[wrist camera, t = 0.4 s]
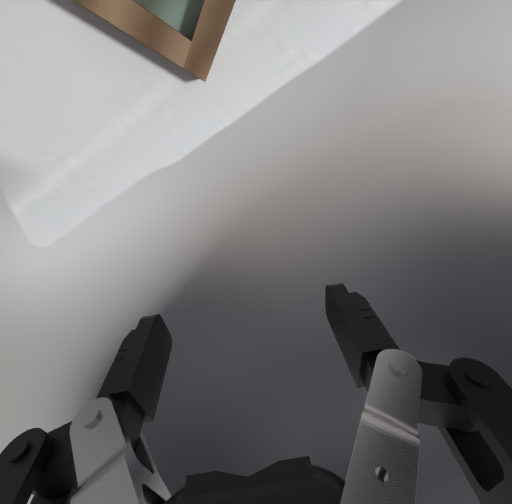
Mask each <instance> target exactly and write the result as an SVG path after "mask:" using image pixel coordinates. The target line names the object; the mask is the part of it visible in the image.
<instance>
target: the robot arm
mask: <svg viewBox="0 0 512 504" xmlns="http://www.w3.org/2000/svg"><path fill="white" fill-rule="evenodd" d="M325 293H326V294H325V298H326V299H325V300H326V302H325V303H326V304H325V305H326V306H325V308H326V315H327V318H328V321H329V323H330V326H331V328H332V331H333V333H334V335H335V337H336V340H337V342H338V344H339V346H340V349H341V351H342V353H343V356H344V358H345V360H346V363H347V365H348V367H349V370H350V372H351V374H352V377H353V379H354V381H355V384H356V386H357V388H359V387H366V389H367V391H368V396H367V400H366V404H365V407H364V410H363V413H362V417H361V421H360V425H359V429H358V433H357V437H356V442H355V445H354V450H353V454H352V457H351V462H350V466H349V470H348V474H347V478H346V481H345V480H344V479H342V478H341V477H340V476H338V475H337V474H335V473H334V472H332V471H330V470H328V469H326V468H323V467H320V466H317V465H312V464H311V462H310V457H309V456H306V457H299V458H293V459H287V460H281V461H278V462H276V463H274V464H272V465H270V466H268V467H266V468H264V469H262V470H261V471H259V472H257V473H255V474H253V475H251V476H248V477H245V476H239V475H234V474H229V473H224V472H219V471H214V472H208V473H202V474H195V475H189V476H186V485H185V487H183V488H182V489H180V490H179V491H177V492H176V493H175V494H173V495H172V496H171V495H170V493H169V491H168V489H167V488H166V486H165V484H164V483H163V481H162V480H161V478H160V476H159V474H158V472H157V469H156V467H155V464H154V462H153V459H152V457H151V455H150V452H149V450H148V448H147V445H146V442H145V440H144V437H143V435H142V433H141V428H142V424H143V423H144V422H149V421H154V416H155V413H156V409H157V404H158V400H159V397H160V392H161V388H162V384H163V380H164V376H165V371H166V368H167V364H168V360H169V356H170V352H171V348H172V337H171V334H170V332H169V330H168V329H167V327H166V325H165V323H164V321H163V319H162V317H161V316H160V315H159V314H157V315H151V316H145V317H142V318H141V319H140V321H139V323H138V326H137V328H136V329H135V330H131V332H130V333H129V334H128V335H127V336H126V338H125V339H124V340H123V342H122V344H121V346H120V348H119V350H118V351H119V352H118V353H117V355H116V357H115V359H114V362H113V363H112V366H111V368H110V370H109V372H108V374H107V377H106V379H105V381H104V383H103V385H102V388H101V390H100V392H99V394H98V396H97V398H96V399H95V400H93V401H91V402H89V403H88V404H87V405H85V406H84V407H83V408H82V409H81V410H80V411H79V412H78V414H77V415H76V416H75V418H74V419H73V421H71V422H69V423H67V424H65V425H63V426H61V427H59V428H57V429H55V430H53V431H51V432H49V433H47V432H45V431H43V430H42V429H40V428H33V429H30V430H27V431H25V432H24V433H22V434H21V435H19V436H17V437H16V438H15V439H14V440H13V441H12V442H10V443H9V445H8V446H7V447H6V448H5V449H4V450H3V452H2V453H1V454H0V504H27V502H28V500H29V498H30V496H31V494H33V495H34V497H33V499H32V501H31V503H30V504H415V503H416V490H417V477H418V464H419V450H420V439H419V436H418V433H417V432H418V423H423V424H427V425H432V426H437V427H438V429H439V430H440V432H441V434H442V436H443V437H444V439H445V441H446V442H447V444H448V446H449V448H450V450H451V451H452V453H453V455H454V457H455V459H456V460H457V462H458V464H459V465H460V467H461V469H462V471H463V473H464V474H465V476H466V478H467V480H468V481H469V483H470V485H471V486H472V488H473V490H474V492H475V494H476V495H477V497H478V499H479V501H480V502H481V504H512V389H511V388H510V387H509V385H508V384H507V383H506V382H505V381H504V380H503V379H502V378H501V376H500V375H499V374H498V373H497V372H496V371H494V370H493V369H492V368H490V367H489V366H487V365H486V364H484V363H482V362H480V361H477V360H474V359H470V358H458V359H455V360H453V361H452V362H451V363H450V365H449V366H446V365H438V364H431V363H424V362H421V361H417V360H415V359H414V358H413V357H412V356H411V355H409V354H408V353H406V352H404V351H401V350H400V349H399V347H398V346H397V345H396V343H395V342H394V340H393V339H392V337H391V336H390V334H389V333H388V331H387V330H386V328H385V327H384V325H383V324H382V322H381V321H380V319H379V318H378V317H377V315H376V313H375V312H374V310H372V308H371V306H370V304H369V303H368V301H367V300H366V299H365V298H364V297H362V296H361V295H360V294H358V293H357V292H353V293H349V292H348V291H347V289H346V287H345V286H344V284H343V283H338V284H333V285H327V286H326V289H325Z"/></svg>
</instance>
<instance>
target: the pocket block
mask: <svg viewBox="0 0 512 504" xmlns="http://www.w3.org/2000/svg"><path fill="white" fill-rule="evenodd" d="M74 1H76V2H77V3H79V4H81V5H82V6H84V7H85V8H87V9H89V10H90V11H92V12H93V13H95V14H97V15H98V16H100V17H101V18H103V19H105V20H106V21H108V22H110V23H111V24H113V25H114V26H116V27H118V28H119V29H121V30H122V31H124V32H126V33H127V34H129V35H130V36H132V37H134V38H135V39H137V40H138V41H140V42H142V43H143V44H145V45H146V46H148V47H150V48H151V49H153V50H155V51H156V52H158V53H159V54H161V55H163V56H164V57H166V58H167V59H169V60H171V61H172V62H174V63H175V64H177V65H179V66H180V67H182V68H183V69H185V70H187V71H188V72H190V73H191V74H193V75H195V76H196V77H198V78H200V79H201V80H203V81H204V82H205V81H206V78H207V76H208V73H209V70H210V67H211V65H212V62H213V59H214V57H215V54H216V51H217V49H218V46H219V43H220V41H221V38H222V35H223V33H224V30H225V27H226V25H227V22H228V19H229V17H230V14H231V11H232V9H233V6H234V3H235V1H236V0H74Z"/></svg>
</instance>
